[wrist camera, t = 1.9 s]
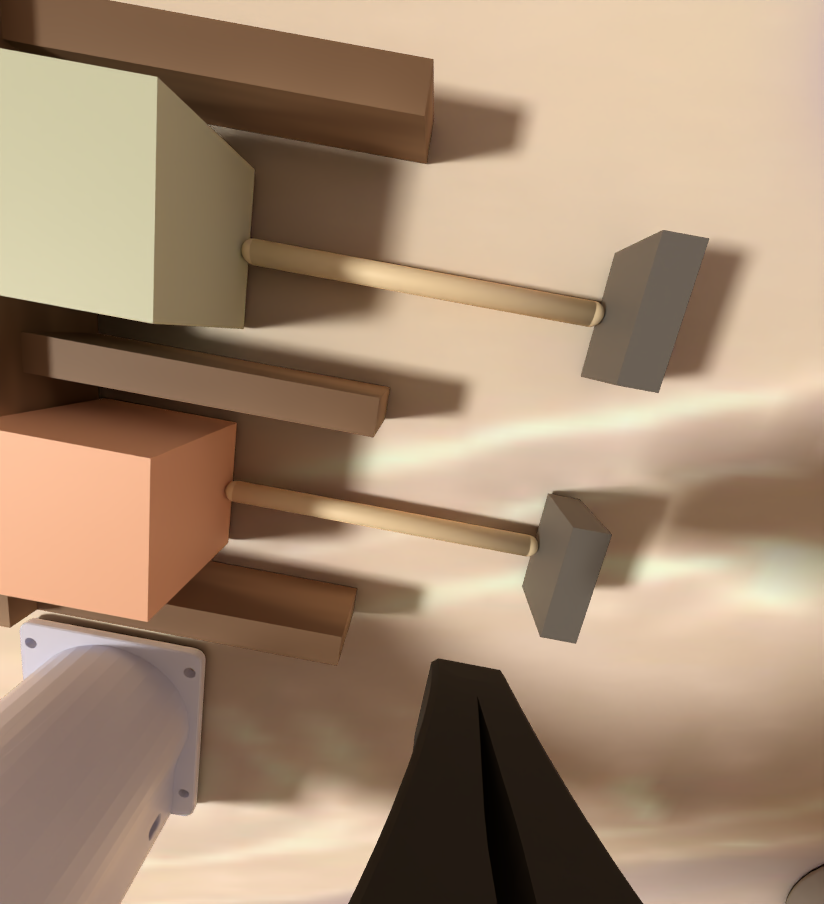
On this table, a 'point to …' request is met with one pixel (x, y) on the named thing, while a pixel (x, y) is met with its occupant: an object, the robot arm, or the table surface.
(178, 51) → the walnut lane rack
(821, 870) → the travel mug
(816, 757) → the table surface
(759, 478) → the table surface
